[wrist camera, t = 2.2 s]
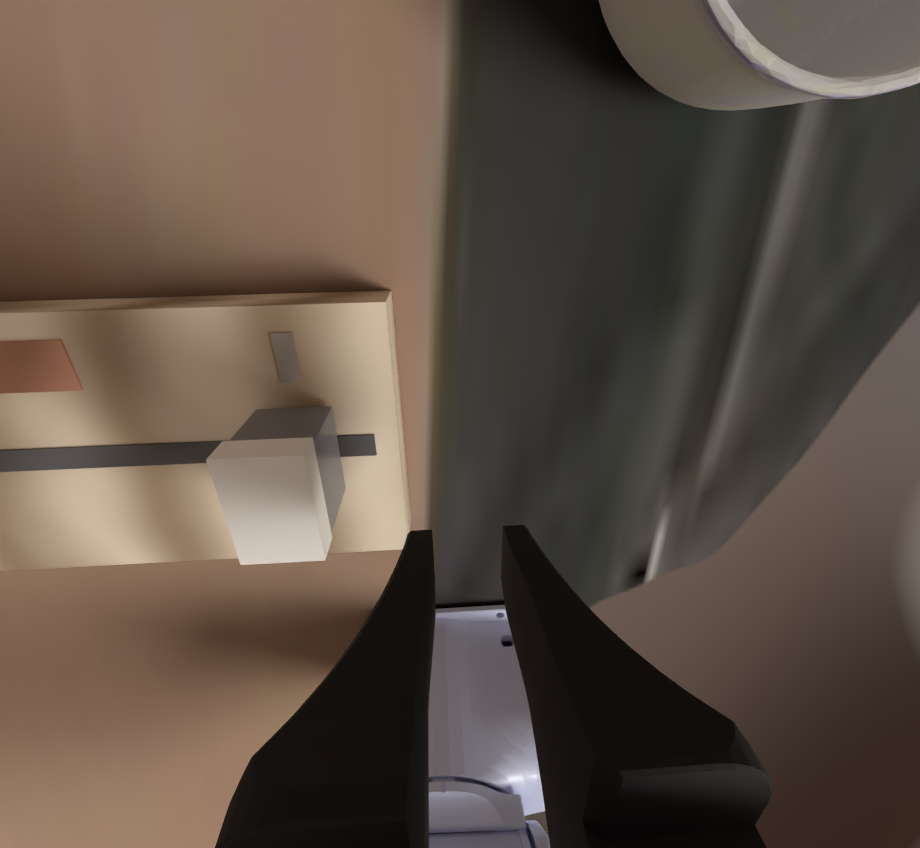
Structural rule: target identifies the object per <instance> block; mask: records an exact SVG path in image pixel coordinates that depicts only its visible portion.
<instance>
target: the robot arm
mask: <svg viewBox="0 0 920 848" xmlns="http://www.w3.org/2000/svg"><path fill="white" fill-rule="evenodd" d="M501 580H502V587H503V595H504V602H505V605H492V606H475V607H459V608H442V609H436V606H435V572H434V556H433V540H432V530H419V531H410V532H409V533H408V534H407V537H406V541H405V544H404V547H403V550H402V552H401V555H400V557H399V560H398V562H397V564H396V567H395V569H394V571H393V573H392V575H391V577H390V579H389V581H388V583H387V585H386V587H385V589H384V591H383V593H382V595H381V596H380V598H379V600H378V602H377V604H376V605H375V607H374V609H373V611H372V612H371V614H370V616H369V617H368V619H367V621H366V622H365V624H364V625H363V627H362V629H361V630H360V632H359V633H358V635H357V636H356V638H355V639H354V640H353V642H352V643H351V645H350V646H349V648H348V649H347V650H346V652H345V653H344V654H343V656H342V657H341V658H340V660H339V661H338V662H337V664H336V665H335V667H334V668H333V669H332V670H331V672H330V673H329V674H328V675H327V677H326V678H325V679H324V680H323V682H322V683H321V684H320V685H319V686H318V687H317V688H316V690H315V691H314V692H313V693H312V694H311V695H310V697H309V698H308V699H307V700H306V701H305V702H304V703H303V705H302V706H301V707H300V708H299V709H298V710H297V712H296V713H295V714H294V715H293V716H292V717H291V718H290V719H289V720H288V721H287V722H286V723H285V724H284V725H283V726H282V727H281V728H280V729H279V730H278V731H277V732H276V733H275V734H274V735H273V736H272V737H271V738H270V739H269V740H268V741H267V742H266V743H265V744H264V745H263V746H262V747H261V748H260V750H259V751H257V752H256V753H255V754H254V755H253V757H252V758H251V760H250V761H249V763H248V765H247V767H246V769H245V771H244V773H243V775H242V777H241V780H240V782H239V784H238V786H237V789H236V791H235V793H234V795H233V797H232V800H231V802H230V805H229V807H228V810H227V813H226V816H225V819H224V822H223V825H222V828H221V831H220V834H219V837H218V840H217V843H216V846H215V848H766V846H765V844H764V842H763V840H762V838H761V836H760V834H759V832H758V830H757V828H756V826H755V824H756V822H757V820H758V819H759V817H760V815H761V814H762V812H763V810H764V809H765V807H766V805H767V804H768V802H769V799H770V796H771V793H772V789H773V787H772V782H771V778H770V777H769V775H768V773H767V772H766V770H765V768H764V767H763V765H762V763H761V762H760V760H759V758H758V756H757V755H756V753H755V752H754V750H753V749H752V747H751V746H750V744H749V743H748V741H747V740H746V739H745V737H744V736H743V735H742V733H741V732H740V731H739V729H738V728H737V726H736V725H735V723H734V722H733V721H731V720H730V719H728V718H727V717H725V716H724V715H722V714H721V713H719V712H718V711H716V710H715V709H713V708H711V707H710V706H708V705H707V704H705V703H703V702H702V701H701V700H699V699H698V698H696V697H695V696H693V695H691V694H690V693H689V692H687V691H686V690H684V689H683V688H682V687H680V686H679V685H677V684H676V683H675V682H673V681H672V680H671V679H669V678H668V677H667V676H665V675H664V674H662V673H661V672H660V671H658V670H657V669H656V668H655V667H654V666H653V665H651V664H650V663H649V662H648V661H646V660H645V659H644V658H643V657H641V656H640V655H639V654H638V653H637V652H635V651H634V650H633V649H631V648H630V647H629V646H628V645H627V644H626V643H625V642H624V641H623V640H621V639H620V638H619V637H618V636H617V635H616V634H615V633H614V632H613V631H612V630H611V629H610V628H608V627H607V626H606V625H605V624H604V623H603V622H602V621H601V620H600V619H599V618H598V617H597V616H596V615H595V614H594V613H593V612H592V611H591V609H590V608H589V607H588V606H587V605H586V604H585V603H584V602H583V601H582V600H581V599H580V597H579V596H578V595H577V594H576V593H575V592H574V591H573V590H572V588H571V587H570V586H569V585H568V584H567V583H566V581H565V580H564V579H563V578H562V576H561V575H560V574H559V573H558V571H557V570H556V569H555V567H554V566H553V565H552V564H551V562H550V561H549V560H548V558H547V557H546V556H545V554H544V553H543V551H542V550H541V549H540V547H539V546H538V544H537V543H536V541H535V540H534V538H533V537H532V535H531V534H530V532H529V530H528V529H527V527H525V526H524V525H515V526H503V539H502V569H501ZM500 612H501V613H500ZM543 811H545V812H546V819H547V827H548V834H549V837H548V836H547V834H546V833H545V832H544V830H543V828H542V827H541V825H540V824H539V823H538V822H537V821H534V820H532V821H525V817H524V816H526V815H529V814H533V813H538V812H543Z"/></svg>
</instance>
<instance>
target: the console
mask: <svg viewBox="0 0 920 848" xmlns="http://www.w3.org/2000/svg"><path fill="white" fill-rule="evenodd" d="M328 406H332V409H333V415H334V421H335V427H336V433H337V439H338V445H339V451H340V457H341V463H342V469H343V475H344V481H345V487H346V489H345V492H344V495H343V498H342V502H341V505H340V508H339V511H338V514H337V518H336V521H335V524H334V527H333V531H332V540H331V544H330V547H329V550H328V553H343V552H361V551H380V550H399V549H403V547H404V544H405V541H406V537H407V534H408V533H409V532H410V524H411V511H410V499H409V488H408V476H407V465H406V454H405V442H404V431H403V419H402V408H401V396H400V385H399V373H398V362H397V350H396V339H395V328H394V316H393V305H392V293H391V290H390V291H355V292H320V293H285V294H251V295H216V296H181V297H146V298H111V299H76V300H42V301H7V302H0V571H9V570H27V569H46V568H64V567H83V566H101V565H120V564H139V563H157V562H176V561H194V560H213V559H231V558H238V556H237V553H236V549H235V546H234V543H233V540H232V537H231V534H230V531H229V528H228V525H227V522H226V519H225V516H224V513H223V510H222V507H221V504H220V501H219V498H218V495H217V492H216V489H215V486H214V483H213V480H212V477H211V474H210V471H209V468H208V465H207V462H206V459H207V458H208V457H209V456H210V454H211V453H212V452H213V451H214V450H215V449H216V448H217V447H218V446H219V444H220V443H221V442H222V441H229V440H230V439H231V438H232V437H233V436H234V434H235V433H236V432H237V431H238V430H239V429H240V428H241V426H242V425H243V424H244V423H245V422H246V421H247V420H248V418H249V417H250V416H251V415H252V414H253V413H254V412H255V410H256V409H278V408H303V407H328Z"/></svg>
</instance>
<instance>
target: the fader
mask: <svg viewBox="0 0 920 848" xmlns="http://www.w3.org/2000/svg"><path fill="white" fill-rule="evenodd" d="M206 462H207V465H208V468H209V471H210V474H211V477H212V480H213V483H214V486H215V489H216V492H217V495H218V498H219V501H220V504H221V507H222V510H223V513H224V516H225V519H226V522H227V525H228V528H229V531H230V534H231V537H232V540H233V543H234V546H235V549H236V553H237V556H238V559H239V562H240V565H249V564H268V563H286V562H304V561H323V560H326V557H327V554H328V550H329V547H330V544H331V540H332V531H333V527H334V524H335V521H336V518H337V514H338V511H339V508H340V505H341V502H342V498H343V495H344V492H345V489H346V487H345V481H344V475H343V469H342V463H341V457H340V451H339V445H338V439H337V433H336V427H335V421H334V415H333V409H332V406H328V407H303V408H278V409H256V410H255V412H254V413H253V414H252V415H251V416H250V417H249V418H248V420H247V421H246V422H245V423H244V424H243V425H242V426H241V428H240V429H239V430H238V431H237V432H236V433H235V434H234V436H233V437H232V438H231V439H230V440H229V441H222V442H221V443H220V444H219V446H218V447H217V448H216V449H215V450H214V451H213V452H212V453H211V454H210V456H209V457H208V458H207V459H206Z"/></svg>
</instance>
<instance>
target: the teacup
mask: <svg viewBox="0 0 920 848" xmlns="http://www.w3.org/2000/svg"><path fill="white" fill-rule="evenodd" d="M599 4H600V7H601V11H602V14H603V17H604V20H605V22H606V25H607V27H608V30H609V32H610V34H611V36H612V37H613V39H614V41H615V43H616V45H617V46H618V48H619V50H620V52H621V53H622V55H623V56H624V58H625V59H626V60H627V62H628V63H629V64H630V66H631V67H632V68H633V69H634V70H635V71H636V73H637V74H638V75H639V76H640V77H641V78H642V79H644V80H645V81H646V82H647V83H648V84H650V85H651V86H652V87H654V88H655V89H656V90H657V91H659V92H661V93H663V94H664V95H666V96H668V97H670V98H672V99H674V100H676V101H678V102H681V103H684V104H687V105H690V106H694V107H699V108H705V109H711V110H745V109H758V108H765V107H773V106H781V105H788V104H795V103H801V102H806V101H812V100H818V99H824V98H830V99H854V98H863V97H868V96H873V95H877V94H882V93H886V92H891V91H895V90H899V89H902V88H905V87H908V86H911V85H914V84H917V83H920V0H599Z"/></svg>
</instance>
